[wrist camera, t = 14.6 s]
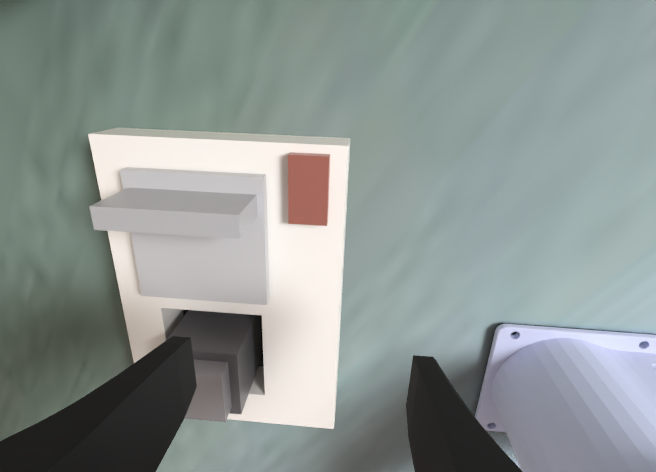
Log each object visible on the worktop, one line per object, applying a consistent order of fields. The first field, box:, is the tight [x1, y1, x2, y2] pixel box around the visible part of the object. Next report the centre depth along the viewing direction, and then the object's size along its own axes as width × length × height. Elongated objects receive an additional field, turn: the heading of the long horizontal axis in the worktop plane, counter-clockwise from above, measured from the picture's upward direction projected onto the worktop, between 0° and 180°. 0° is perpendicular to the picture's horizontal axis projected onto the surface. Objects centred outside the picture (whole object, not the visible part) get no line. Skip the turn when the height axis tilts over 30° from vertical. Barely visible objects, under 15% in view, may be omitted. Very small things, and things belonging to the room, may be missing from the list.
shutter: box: [89, 167, 270, 305], centre depth 18 cm, size 7×7×3 cm
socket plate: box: [88, 128, 350, 429], centre depth 21 cm, size 12×17×3 cm
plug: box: [167, 310, 261, 422], centre depth 22 cm, size 4×4×6 cm
